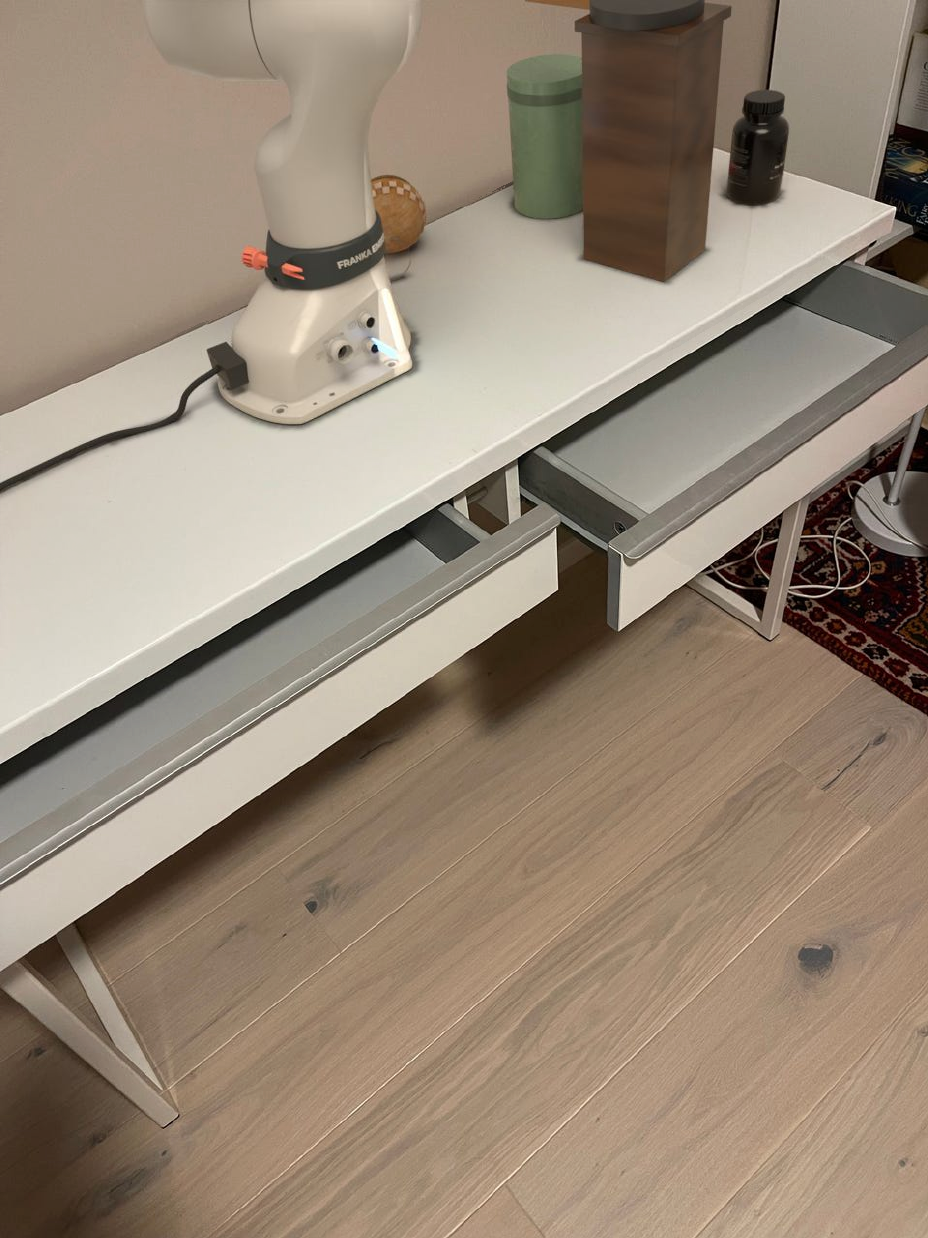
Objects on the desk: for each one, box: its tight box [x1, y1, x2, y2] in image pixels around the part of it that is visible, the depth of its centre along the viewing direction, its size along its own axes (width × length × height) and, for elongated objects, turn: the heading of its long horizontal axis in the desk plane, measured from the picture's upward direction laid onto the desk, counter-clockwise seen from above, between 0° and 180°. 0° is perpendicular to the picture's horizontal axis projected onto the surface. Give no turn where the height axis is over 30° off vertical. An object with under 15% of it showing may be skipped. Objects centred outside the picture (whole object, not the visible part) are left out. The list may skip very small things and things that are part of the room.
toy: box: [371, 174, 427, 282], centre depth 123 cm, size 9×9×15 cm
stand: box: [574, 2, 733, 283], centre depth 112 cm, size 10×12×26 cm
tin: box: [506, 53, 583, 220], centre depth 127 cm, size 10×10×16 cm
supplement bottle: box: [726, 89, 790, 206], centre depth 125 cm, size 7×7×12 cm
